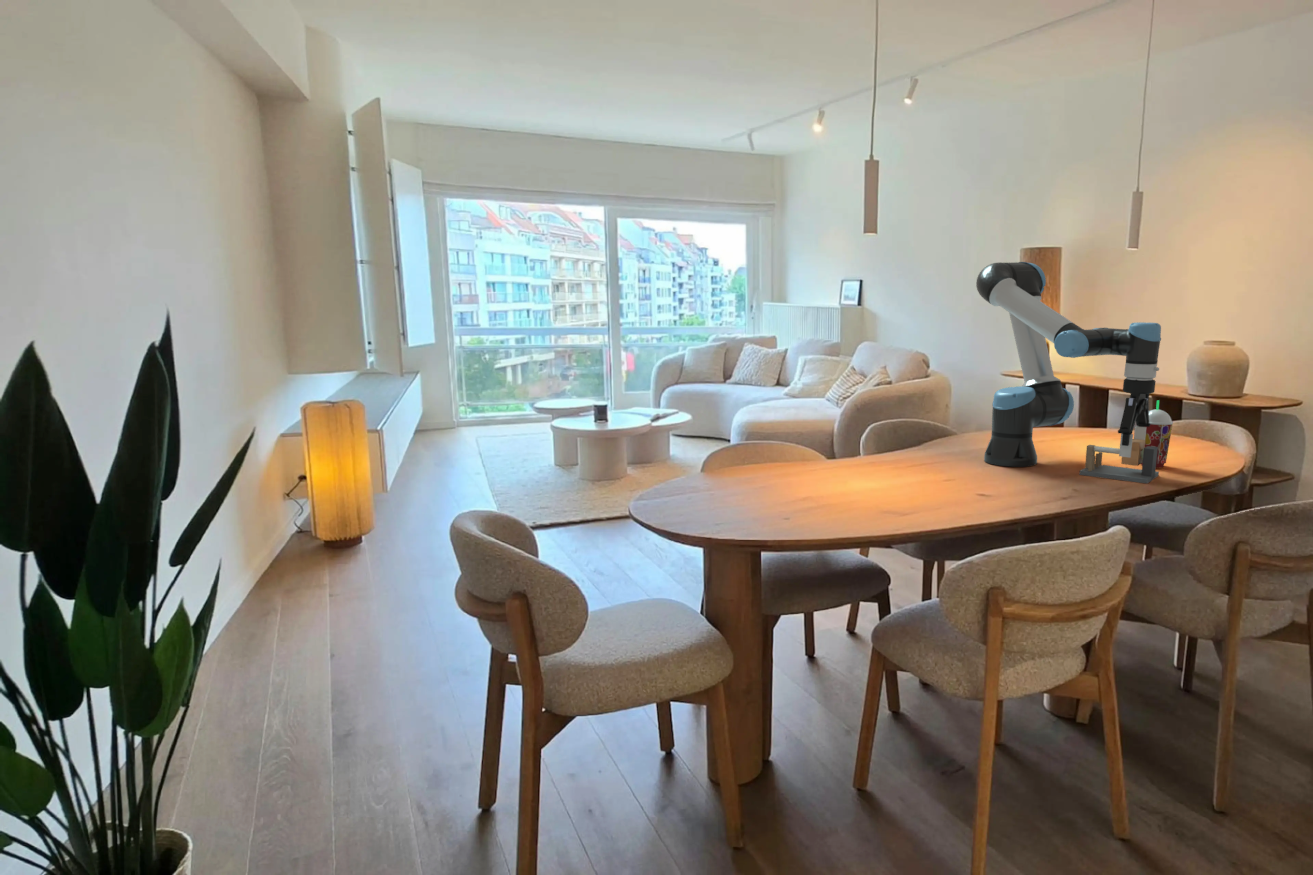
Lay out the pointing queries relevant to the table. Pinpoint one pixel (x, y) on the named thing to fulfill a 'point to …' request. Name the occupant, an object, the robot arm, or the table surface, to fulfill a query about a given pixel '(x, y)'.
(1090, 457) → the peg stand base
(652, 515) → the table surface
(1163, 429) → the smoothie
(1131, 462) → the sleeve
